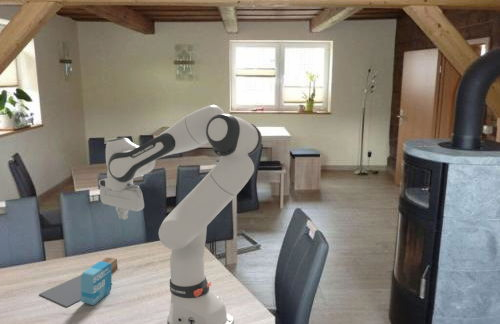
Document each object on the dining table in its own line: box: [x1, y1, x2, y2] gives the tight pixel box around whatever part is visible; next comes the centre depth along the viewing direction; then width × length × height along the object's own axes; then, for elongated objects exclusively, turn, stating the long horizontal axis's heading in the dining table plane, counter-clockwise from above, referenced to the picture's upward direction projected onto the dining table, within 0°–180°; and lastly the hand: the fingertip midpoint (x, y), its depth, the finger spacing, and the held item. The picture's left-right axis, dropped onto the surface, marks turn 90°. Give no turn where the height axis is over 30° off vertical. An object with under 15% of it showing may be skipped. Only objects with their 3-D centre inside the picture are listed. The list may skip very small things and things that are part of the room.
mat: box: [38, 274, 113, 308], centre depth 161 cm, size 17×20×1 cm
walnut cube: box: [101, 257, 119, 275], centre depth 176 cm, size 5×5×5 cm
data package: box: [81, 260, 113, 306], centre depth 154 cm, size 12×4×12 cm, turn 164°
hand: (123, 218), depth 154 cm, fingers closed
